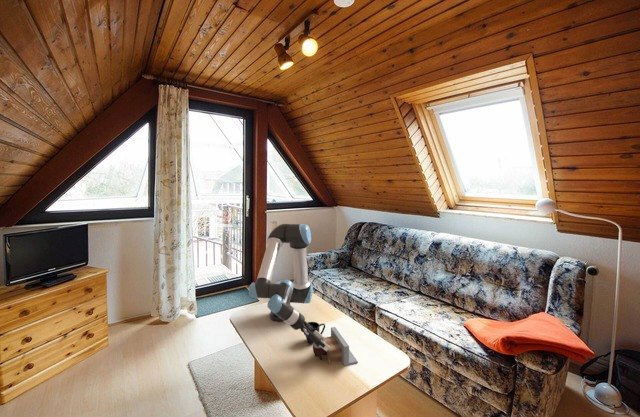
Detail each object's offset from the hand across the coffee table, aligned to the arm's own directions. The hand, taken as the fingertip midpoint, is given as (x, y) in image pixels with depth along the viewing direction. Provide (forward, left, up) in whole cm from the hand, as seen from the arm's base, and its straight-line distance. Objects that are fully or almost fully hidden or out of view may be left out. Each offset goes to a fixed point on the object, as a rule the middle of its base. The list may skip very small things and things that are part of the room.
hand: (325, 343), depth 147 cm
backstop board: (0, +10, -7) cm, 13 cm away
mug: (-16, 0, -8) cm, 18 cm away
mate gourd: (0, -3, -6) cm, 7 cm away
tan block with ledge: (0, +4, -7) cm, 8 cm away
